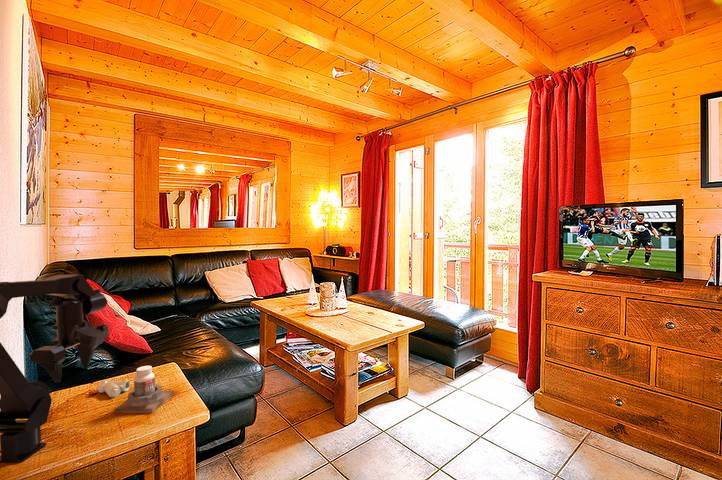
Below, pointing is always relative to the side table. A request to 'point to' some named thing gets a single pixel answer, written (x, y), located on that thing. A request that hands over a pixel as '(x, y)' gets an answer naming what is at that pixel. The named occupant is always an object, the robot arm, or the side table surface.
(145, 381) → the pill bottle
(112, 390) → the pipe fitting
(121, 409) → the collar base
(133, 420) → the side table surface
